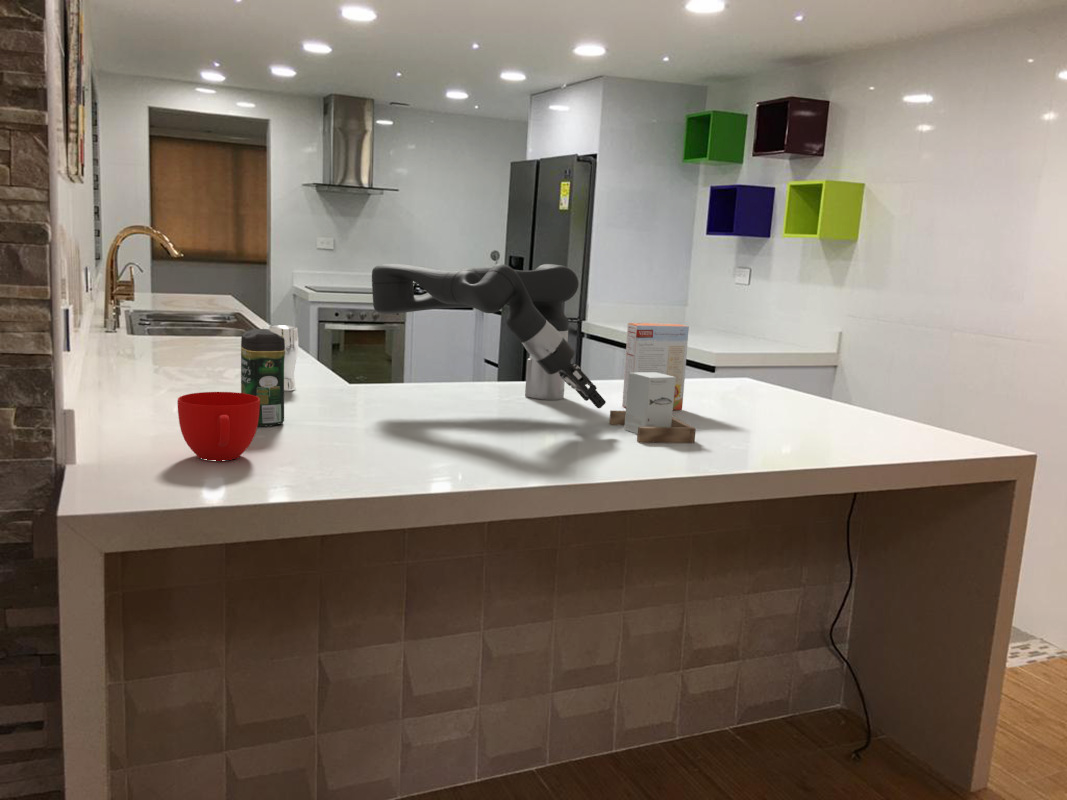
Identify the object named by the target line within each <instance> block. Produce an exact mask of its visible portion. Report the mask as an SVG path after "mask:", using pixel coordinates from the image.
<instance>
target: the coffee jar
mask: <svg viewBox="0 0 1067 800" xmlns="http://www.w3.org/2000/svg"><path fill="white" fill-rule="evenodd" d="M240 340H241V341H240V393H245V394H250V395H254V396H257V397H258V398H259V399H260V410H259V420H258V426H260V427H264V428H266V427H274V426H276V425H282V424H283V423H284V422H285V391H284V358H285V340H284V338H283V337H282V336H280V335H278V334H276V333H274V332H272V331H270V330H269V328H268V329H267V328H249V329H248V330H246V331H245V332H243V333H242V334H241V339H240ZM258 426H257V427H258Z"/></svg>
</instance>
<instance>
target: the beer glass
mask: <svg viewBox="0 0 1067 800" xmlns="http://www.w3.org/2000/svg"><path fill="white" fill-rule="evenodd" d="M268 329H269V330H270V331H272V332H274V333H276V334H278V335H280V336H282V337H283V338H284V340H285V358H284V392H293V391H295V390H297V389H296V382H295V381H296V380H295V371H296V363H297V359H298V353H299V334H298V333H299V331H298V326H293V325H269V327H268Z"/></svg>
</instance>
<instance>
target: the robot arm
mask: <svg viewBox="0 0 1067 800" xmlns="http://www.w3.org/2000/svg"><path fill="white" fill-rule="evenodd" d="M414 283H415V284H417V285H418V286H419V287H421V288H422V289H423V290H425V292H426V293H423V294H421V295H418V296H415V295H414V294H415V293H414ZM578 288H579V279H578V276H577V274H576V273H575V272H574V271H573V270H572V269H571V268H569V267H567V266H565V265H561V264H552V263H544V264H541V265H539V266H537V267H536V268H535V269H533V270H521V269H520V270H519V269H514V268H512V267H511V266H509V265H507V264H505V263H504V264H503V263H497V264H495V265H493V266H491V267H466V268H462V269H460V270H442V269H440V270H439V269H436V268H432V267H431V268H430V267H425V266H418V265H412V264H406V263H405V264H404V263H383V264H379V265H376V266H374V267H373V269H372V271H371V291H372V304H373V305H372V307H373V309H374V311H375V312H377V313H379V314H383V315H386V314H387V315H391V314H393V315H394V314H404V313H413V312H420V311H430V310H437V309H438V310H440V309H455V308H459V309H460V308H463V309H464V308H466V309H467V308H468V309H469V308H473V309H476V310H478V311H480V312H483V313H485V314H494V313H498V312H499V311H501V310H502V309H503V308H504V307H505V306H506V305H508V306H509V311H508V314H507V317H506V319H505V324H506V327H507V329H509V330H510V332H511V333H512V334H513V336H515V337H516V338H517V340H518V341H519V342H520V343H521V344H522V345H523V347H524V348H525V350H526V352H527V353H528V354H529V358H527V360H526V372H525V373H526V375H525V376H526V377H525V387H524V388H525V391H524V393H525V394H524V396H525V397H527V398H528V397H529V398H532V399H536V400H548V401H549V400H550V401H551V400H552V401H555V400H562V399H564V396H565V384H567V385H568V386H569V387H571V389H573V390H575V392H577V394H578V395H579V396H580V397H581V398H582V399H583V400H584V401H589V400H590V402H591V403H592V404H593V405H594V406H595V407H596V408H597V409H601V408H602V407H604V405H606V399H605V398H603V396H602V395H601V394H600V393H599V392H598V391H597V389H598V388H597V386H596V385H595V384H594V383H593V382H592V381H591V380H590V378H589V377H588V376H587V375H586V374H585V373H584V372H583V371H582V368H581V367H580V366H579V365H578V364H575V363H574V362H572V359H574V357H575V354H576V353H575V349H574V348H573V346H571V345H570V343H569V342H568V338H569V337H568V336H569V323H570V322H569V318H568V317H567V315H566V314H565V313H564V310H563V303H564V302H565V303H566V302H568V301H569V300H571V299H572V298H573V297H574V296H575V295H576V293H577V291H578ZM587 385H588V386H589V387H587Z"/></svg>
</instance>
